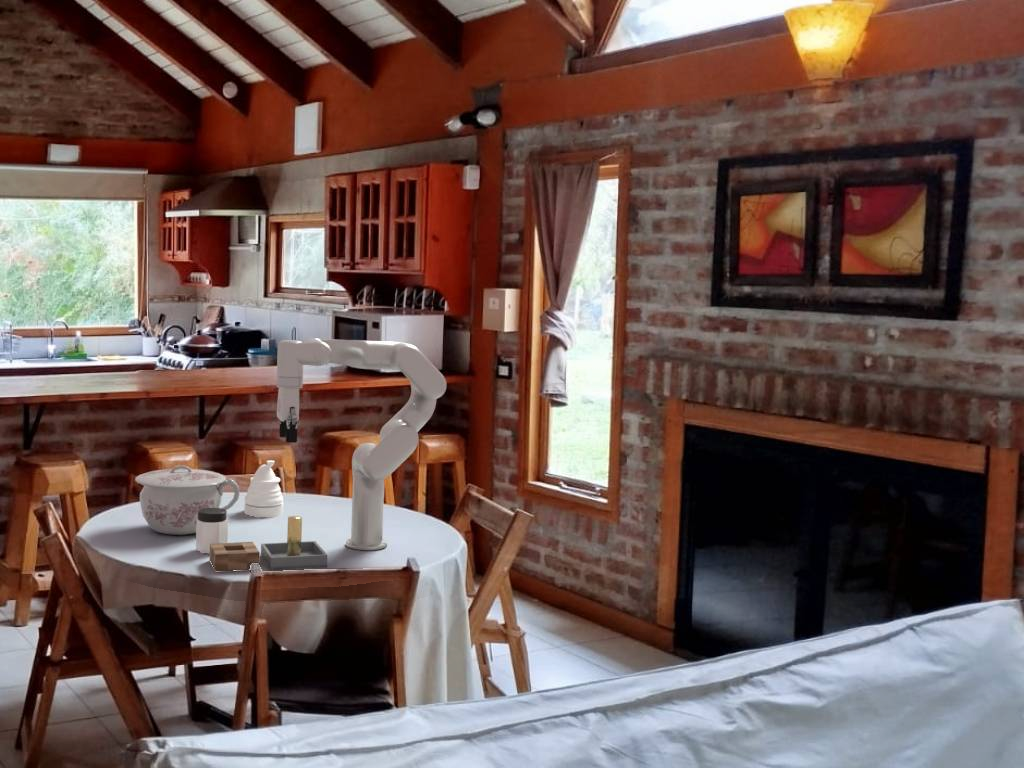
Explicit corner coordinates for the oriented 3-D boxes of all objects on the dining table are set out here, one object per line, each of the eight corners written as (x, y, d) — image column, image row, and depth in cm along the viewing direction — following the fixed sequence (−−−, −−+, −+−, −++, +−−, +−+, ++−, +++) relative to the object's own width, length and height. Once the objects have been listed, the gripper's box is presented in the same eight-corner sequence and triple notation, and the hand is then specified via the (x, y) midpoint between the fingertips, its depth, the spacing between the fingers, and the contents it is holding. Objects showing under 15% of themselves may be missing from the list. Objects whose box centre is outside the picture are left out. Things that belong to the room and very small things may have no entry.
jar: (209, 545, 345) (209, 506, 344) (232, 549, 343) (233, 509, 341) (190, 552, 337) (191, 511, 336) (213, 556, 334) (214, 515, 333)
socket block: (209, 560, 329) (209, 543, 328) (252, 558, 333) (252, 541, 333) (215, 572, 318) (215, 554, 317) (259, 569, 322) (259, 552, 322)
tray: (260, 555, 337) (261, 543, 337) (315, 552, 343) (315, 541, 343) (270, 570, 323) (270, 558, 322) (327, 567, 329) (327, 555, 328)
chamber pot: (114, 531, 356) (115, 465, 353) (179, 515, 380) (180, 454, 378) (183, 546, 343) (184, 477, 341) (245, 529, 367) (246, 465, 365)
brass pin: (285, 556, 334) (286, 516, 333) (299, 556, 336) (300, 515, 334) (288, 560, 330) (289, 519, 329) (302, 559, 332) (303, 518, 331)
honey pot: (287, 510, 396) (289, 458, 394) (276, 518, 383) (277, 465, 381) (251, 507, 397) (252, 456, 395) (238, 516, 384) (240, 462, 382)
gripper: (271, 378, 346) (270, 435, 348) (282, 385, 330) (280, 444, 332) (296, 378, 349) (294, 434, 351) (308, 385, 333) (306, 444, 335)
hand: (288, 439), depth 341 cm, fingers open, 9 cm apart
